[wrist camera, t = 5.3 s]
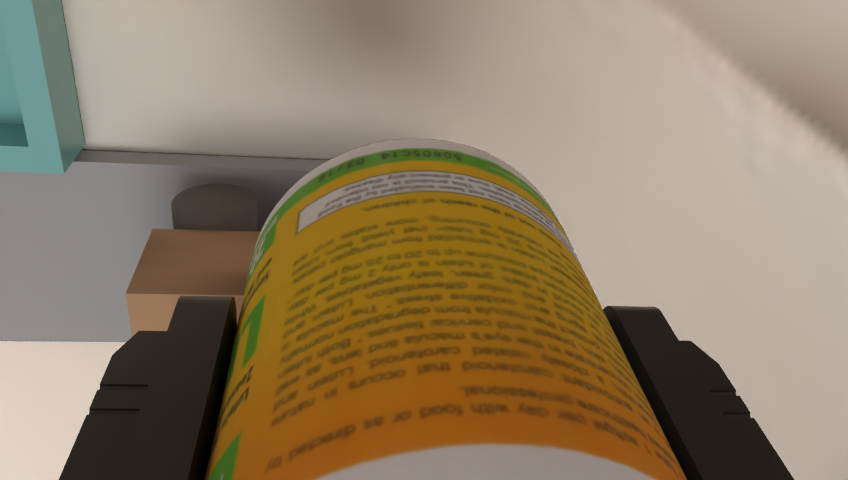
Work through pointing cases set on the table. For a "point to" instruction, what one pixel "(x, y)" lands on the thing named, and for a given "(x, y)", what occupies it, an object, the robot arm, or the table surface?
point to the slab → (195, 254)
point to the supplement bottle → (426, 335)
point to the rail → (103, 233)
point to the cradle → (37, 89)
